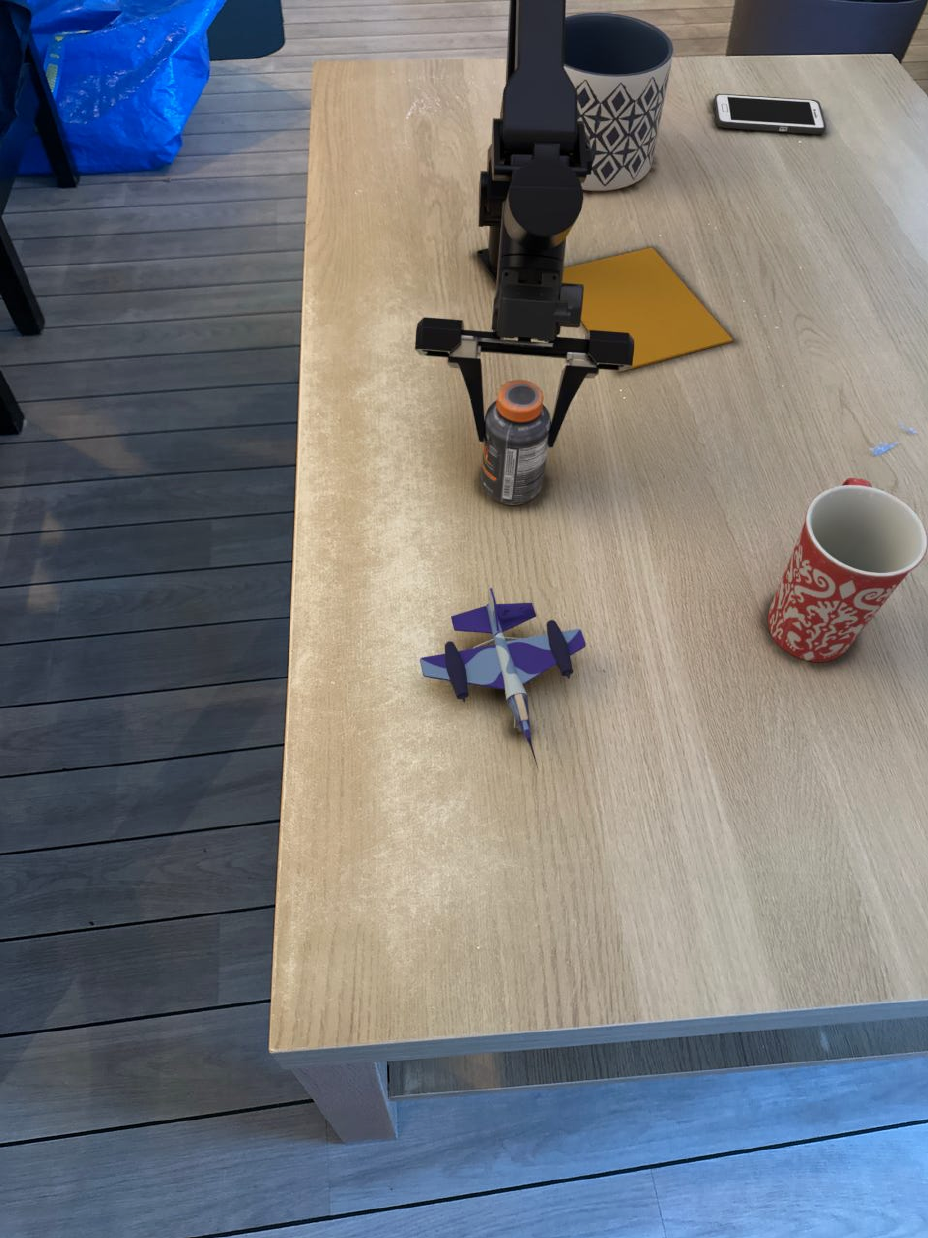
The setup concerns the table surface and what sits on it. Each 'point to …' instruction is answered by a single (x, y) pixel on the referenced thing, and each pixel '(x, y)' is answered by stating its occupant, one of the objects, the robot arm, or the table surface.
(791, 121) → the cell phone
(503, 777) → the table surface
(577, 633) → the toy airplane
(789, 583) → the mug
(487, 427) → the pill bottle
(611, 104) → the planter
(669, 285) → the cloth
